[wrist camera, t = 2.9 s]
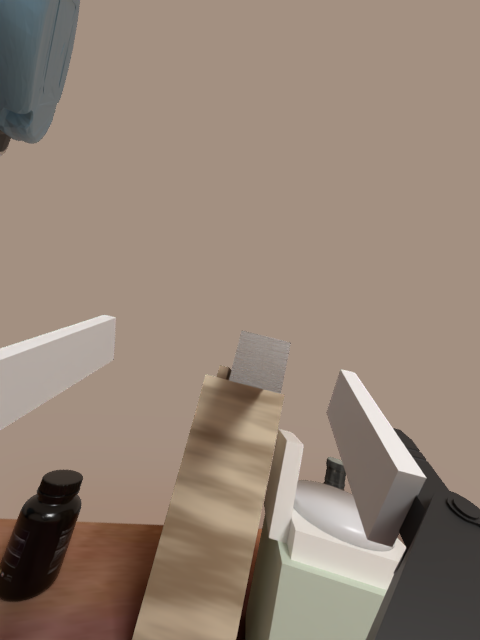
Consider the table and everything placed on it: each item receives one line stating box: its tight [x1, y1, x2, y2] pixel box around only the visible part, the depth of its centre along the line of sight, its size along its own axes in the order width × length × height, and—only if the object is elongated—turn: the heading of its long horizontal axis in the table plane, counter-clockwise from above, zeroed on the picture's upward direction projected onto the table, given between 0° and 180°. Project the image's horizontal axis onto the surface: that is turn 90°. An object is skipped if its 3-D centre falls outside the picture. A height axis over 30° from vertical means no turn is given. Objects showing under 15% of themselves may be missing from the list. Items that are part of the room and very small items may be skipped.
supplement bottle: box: [0, 470, 83, 601], centre depth 33 cm, size 7×7×12 cm
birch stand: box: [132, 365, 284, 640], centre depth 36 cm, size 18×10×32 cm, turn 177°
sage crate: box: [245, 514, 387, 640], centre depth 28 cm, size 15×15×15 cm
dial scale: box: [264, 429, 406, 590], centre depth 31 cm, size 13×15×10 cm
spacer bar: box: [229, 331, 291, 394], centre depth 34 cm, size 30×4×4 cm, turn 0°
